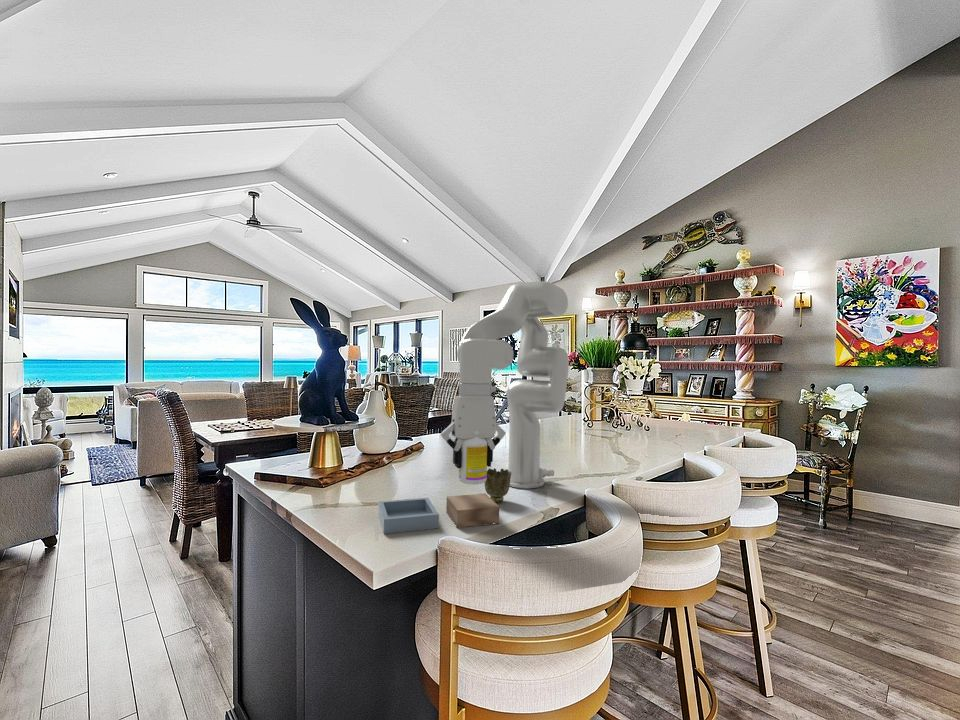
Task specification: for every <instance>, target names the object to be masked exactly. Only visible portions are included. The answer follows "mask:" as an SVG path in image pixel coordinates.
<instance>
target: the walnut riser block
mask: <svg viewBox="0 0 960 720" xmlns="http://www.w3.org/2000/svg"><path fill="white" fill-rule="evenodd" d="M445 505H446V507H445V508H446V509H445V511H446V514H448V515H449V516H448V515H447V516H448V517H449V519H450V518H451V519H450V520H451V522H452V521H453V522H454V523H453V522H452V523H453V524H455V525H456V526H455V525H454V526H455V527H456V528H457V527H464V528H467V527H466V526H474V527H477V526H476V525H484V526H486V525H485V524H493V523H499V524H500V506H499V505H498V503H495V502H494V501H493V500H492V499H491V498H490V495H489V496H488V494H487V493H475V494H462V495H461V494H460V495H450V496H448V495H447V496H446V504H445ZM493 525H494V524H493Z"/></svg>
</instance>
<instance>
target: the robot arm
mask: <svg viewBox="0 0 960 720" xmlns="http://www.w3.org/2000/svg"><path fill="white" fill-rule="evenodd" d="M568 299H569V298H568V295H567V292H565V290H564V289H563V288H562V287H560V286H558V285H556V284H554V283H553V282H550V281H545V280H544V281H527V282H526V281H523V282H517V283H514V284H512V285H510V286H509V287H508V289H507V291H506V293H505V294H504V296H503V297H502V299H501V301H500V303H499V304H498V306H497V308H496V309H495V311H493V312H492V313H490V314H488V315H486V316H484V317H482V318H481V319H480V320H477V321H476V322H474V323H473V324H472V325H470V327H468V329H467V330H466V332H465V333H464V335H463V336H462V338H461V340H460V342H459V344H458V347H457V351H456V358H457V361H458V363H459V373H458V374H459V375H458V376H459V378H458V379H459V380H458V381H459V383H458V395H456V396H455V397H454V400H453V406H452V413H451V422H450V424H449V425H448V426H447V427H445V429H443V431H441V433H440V437H441V438H442V439H443V440H444V441H445V442H446V444H448V445H449V447H450V448H451V449H452V456H453V457H452V464H453V465H454V466H455V467H456V468H457V469H459V468H461V457H462V452H461V451H460V447H461V445H462V443H463V441H464V440H467V439H472V438H474V437H478V438H481V439H486V440H487V468H488V467H489V468H490V467H492V463H493V461H494V459H493V458H494V450H495V449H496V447H497V445H498V444H499V443H500V442H501V441H502V439H503V438H504V437H505V436H506V431H505V430H504V429H503V427H501V426H500V425H498V424H497V422H496V419H497V418H496V408H495V407H496V406H495V402H494V397H493V396H492V393H494V392H497V386H496V385H492V370H494V371H495V370H496V371H497V370H498V371H499V370H505V369H507V368H508V367H510V366H511V364H512V362H513V360H514V350H513V347H512V345H511V344H510V343H509V342H508V341H505V340H503V339H502V338H505V337H508V336H511V335H513V334H516V333H518V332H519V331H520V332H521V334H520V335H521V336H520V343H519V348H518V353H517V354H518V355H517V361H516V363H517V364H516V370H517V372H518V373H519V374H520V375H521V376H524V377H529V378H530V377H531V378H543V379H544V378H545V379H546V378H548V379H549V380H539V379H515V380H514V381H512V382H510V383H509V384H508V386H507V391H506V399H507V405H508V417H509V420H508V421H509V423H508V424H509V430H508V467H507V469H508V471H509V472H510V471H511V479H510V486H509V487H512V488H517V489H518V488H519V489H536V488H540V487H543V486H544V485H545V477H554V476H555V471H554V469H546V468H541V466H540V465H541V433H542V432H541V431H542V429H541V422H540V421H539V419H538V417H537V416H536V414H535V413H536V412H537V413H547V414H557V413H560V412H561V411H562V410H563V408H564V405H565V400H566V394H567V385H568V377H569V367H570V364H569V363H570V360H569V355H568V353H567V350H565V349H564V348H562V347H559V346H548V340H549V332H548V329H546V327H545V325H544V324H543V323H542V322H541V321H540V319H539V318H549V317H550V318H552V317H553V318H554V317H561V316H563V315H565V313H566V312H567V309H568V307H569V300H568ZM475 431H478V432H479V434H478V435H475V434H474V432H475ZM450 434H451V436H452V437H455V438H454V440H453V439H452V438H451V437H450Z"/></svg>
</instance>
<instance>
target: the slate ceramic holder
mask: <svg viewBox="0 0 960 720" xmlns="http://www.w3.org/2000/svg"><path fill="white" fill-rule="evenodd" d="M439 516H440V514H439V512H438V510H437V509H436V507H435V506H434V505H433V503H432V502H431V500H430V498H429V497H418V498H409V499H395V500H394V499H393V500H392V499H391V500H382V501H378V518H379V522H380V526H381V529H382V533H383V535H386V534H395V533H397V534H398V533H404V532H405V533H406V531H407V532H414V531H415V532H416V531H425V529H427V530H435V529H434V528H437V529H440V528H439V523H440V522H439V521H440V519H439V518H440V517H439Z"/></svg>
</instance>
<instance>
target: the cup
mask: <svg viewBox="0 0 960 720" xmlns="http://www.w3.org/2000/svg"><path fill="white" fill-rule="evenodd" d="M510 479H511V471H510V472H509V471H508V468H507V469H504V468H501V469H500V471H499V470H497V468H493V469H492V468H490V467H489V468H487V479H486V481H485V482H484V488H485V492H486V494H487V495H489V497H490V498H491V499H492V500H493V501H494V502H495V503H496V504H500V503H502V502H503V501H504V497H505V496H506V495H507V494H508V493H509V490H510V487H511V486H510ZM499 502H500V503H499Z"/></svg>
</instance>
